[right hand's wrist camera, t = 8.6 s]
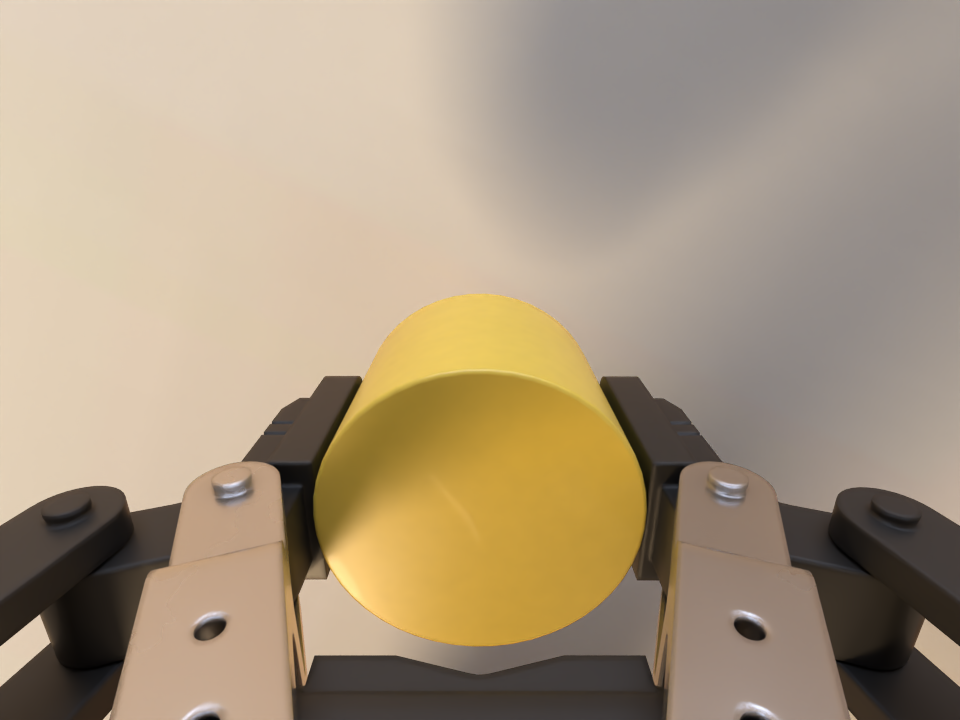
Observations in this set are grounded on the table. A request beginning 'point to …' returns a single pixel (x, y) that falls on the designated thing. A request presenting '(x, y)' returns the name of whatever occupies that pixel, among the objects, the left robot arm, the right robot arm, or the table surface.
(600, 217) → the table surface
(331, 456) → the canister
